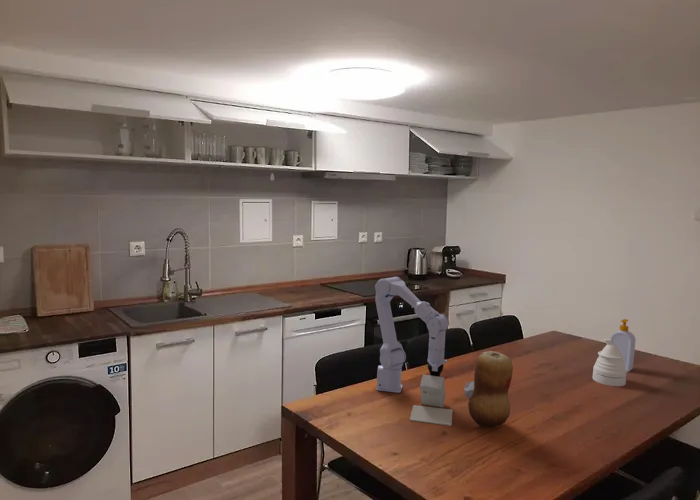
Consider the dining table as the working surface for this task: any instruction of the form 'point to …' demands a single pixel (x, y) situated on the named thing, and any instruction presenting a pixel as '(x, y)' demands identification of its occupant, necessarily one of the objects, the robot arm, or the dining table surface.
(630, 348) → the soap bottle
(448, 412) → the mat
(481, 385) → the butternut squash
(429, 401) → the small box
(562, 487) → the dining table surface
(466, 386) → the stone block
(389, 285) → the robot arm
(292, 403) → the dining table surface
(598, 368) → the honey pot
